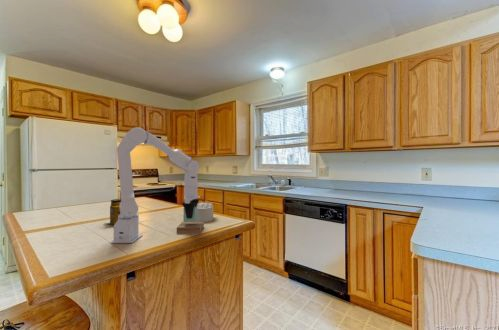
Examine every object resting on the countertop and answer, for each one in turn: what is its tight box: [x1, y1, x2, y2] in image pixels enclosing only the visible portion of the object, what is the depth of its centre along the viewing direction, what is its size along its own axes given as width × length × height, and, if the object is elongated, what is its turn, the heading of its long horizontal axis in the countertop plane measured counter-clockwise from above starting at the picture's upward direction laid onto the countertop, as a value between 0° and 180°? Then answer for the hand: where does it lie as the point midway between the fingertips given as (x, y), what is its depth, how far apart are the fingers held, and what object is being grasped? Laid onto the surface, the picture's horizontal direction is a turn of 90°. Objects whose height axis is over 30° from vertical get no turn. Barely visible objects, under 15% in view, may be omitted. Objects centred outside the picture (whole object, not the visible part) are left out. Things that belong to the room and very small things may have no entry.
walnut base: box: [176, 221, 205, 235], centre depth 107 cm, size 10×10×3 cm
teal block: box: [182, 206, 197, 222], centre depth 107 cm, size 5×5×6 cm
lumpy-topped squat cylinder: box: [196, 202, 214, 223], centre depth 127 cm, size 10×13×9 cm
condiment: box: [103, 198, 121, 228], centre depth 116 cm, size 7×8×12 cm
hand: (190, 216), depth 107 cm, fingers closed on teal block, 5 cm apart
